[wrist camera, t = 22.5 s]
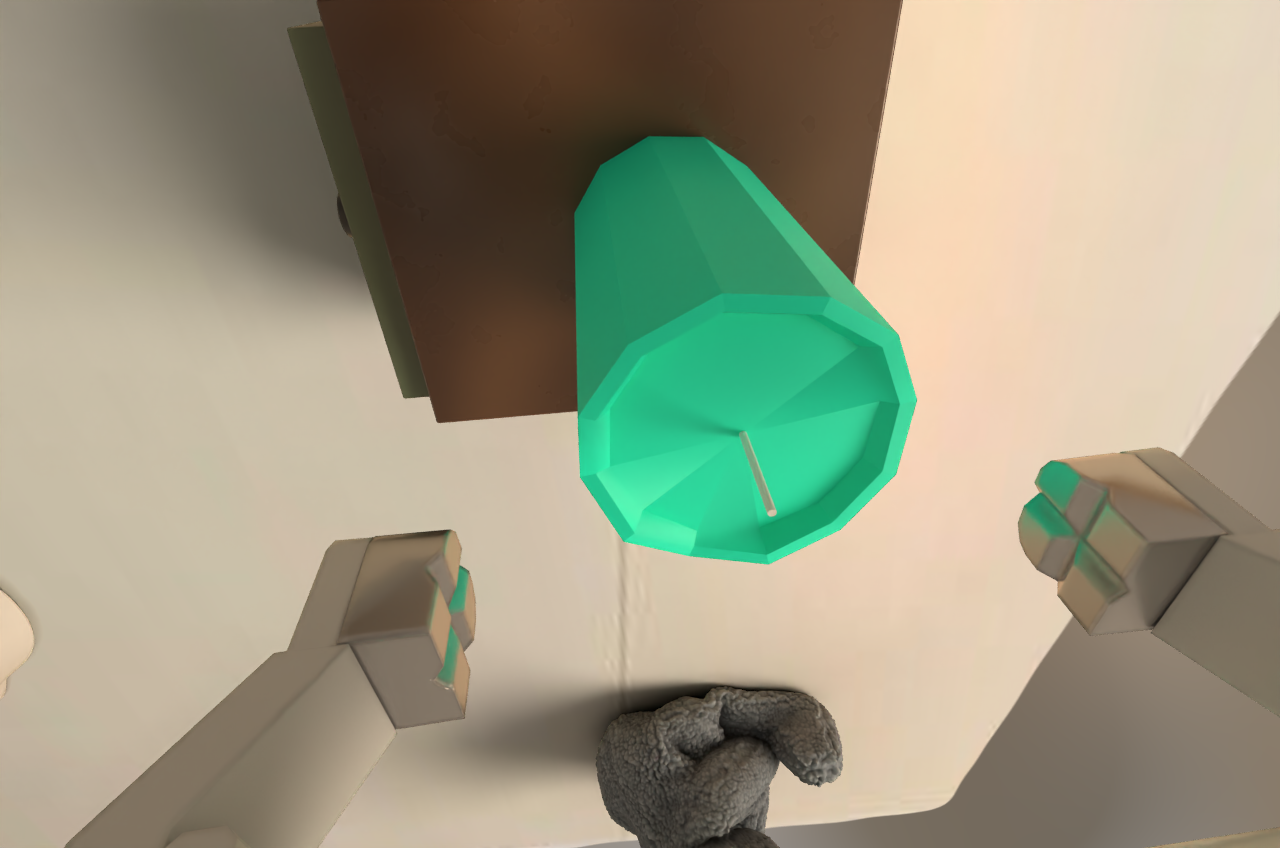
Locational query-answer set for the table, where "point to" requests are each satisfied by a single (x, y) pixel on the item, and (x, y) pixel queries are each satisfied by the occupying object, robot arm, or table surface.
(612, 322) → the candle
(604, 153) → the cabinet
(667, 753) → the koala plush
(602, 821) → the table surface
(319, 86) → the drawer
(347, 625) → the robot arm
